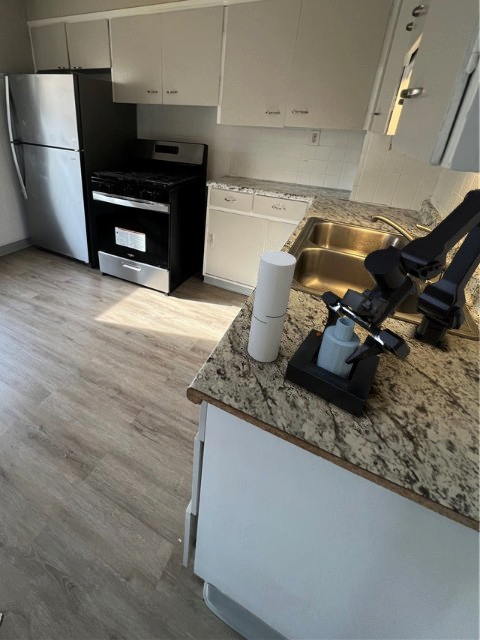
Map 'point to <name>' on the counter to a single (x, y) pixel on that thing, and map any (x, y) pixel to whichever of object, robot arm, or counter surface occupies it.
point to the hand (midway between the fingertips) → (333, 352)
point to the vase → (338, 347)
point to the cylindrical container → (270, 304)
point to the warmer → (331, 376)
